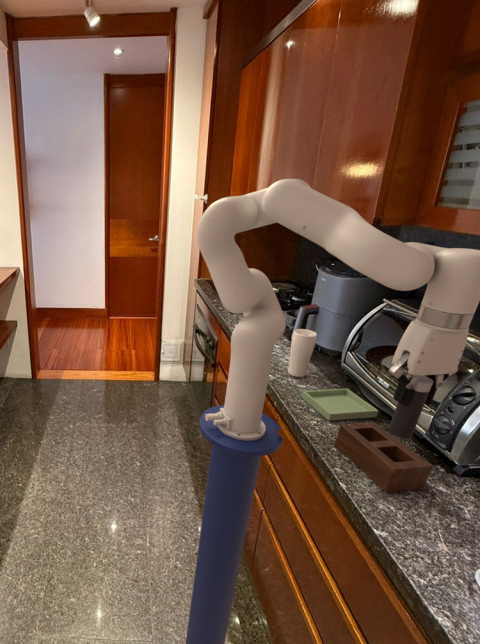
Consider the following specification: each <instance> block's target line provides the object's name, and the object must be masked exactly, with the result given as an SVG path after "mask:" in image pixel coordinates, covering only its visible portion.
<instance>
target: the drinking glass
mask: <svg viewBox="0 0 480 644" xmlns="http://www.w3.org/2000/svg"><path fill="white" fill-rule="evenodd" d="M317 337H318V334H317V333H316V332H315V331H313V330H311V329H305V328H297V329H294V330H293V332H292V337H291V342H290V352H289V361H288V368H287V373H288V374H289V375H290V376H292V377H295V378H303V377H305V376H306V375H307V370H308V367H309V364H310V361H311V358H312V355H313V352H314V349H315V346H316V341H317Z"/></svg>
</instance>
